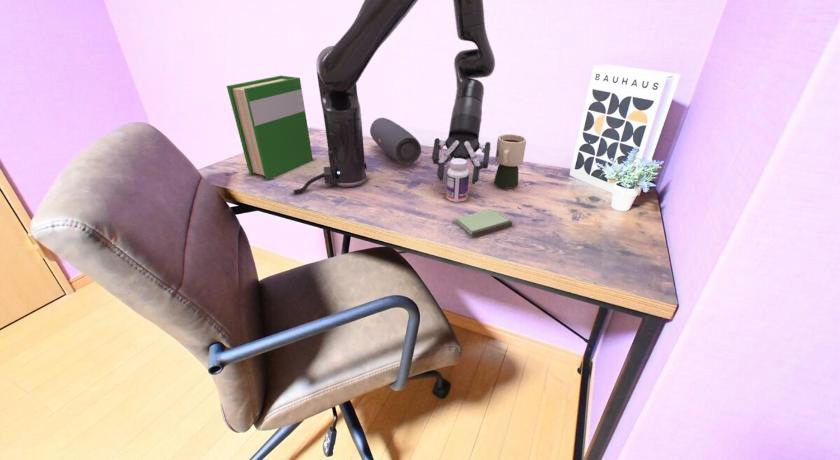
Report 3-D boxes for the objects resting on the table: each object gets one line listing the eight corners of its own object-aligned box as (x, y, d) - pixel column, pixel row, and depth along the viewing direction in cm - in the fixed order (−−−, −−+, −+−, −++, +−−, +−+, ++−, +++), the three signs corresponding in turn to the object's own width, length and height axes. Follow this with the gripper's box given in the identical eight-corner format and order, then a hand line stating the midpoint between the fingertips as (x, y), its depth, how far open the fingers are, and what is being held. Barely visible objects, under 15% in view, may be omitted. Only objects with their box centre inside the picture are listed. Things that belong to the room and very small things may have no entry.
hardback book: (267, 180, 102) (246, 89, 90) (249, 174, 105) (226, 85, 93) (312, 159, 115) (299, 77, 103) (295, 155, 118) (280, 75, 106)
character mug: (499, 175, 105) (504, 130, 98) (523, 180, 102) (531, 134, 95) (486, 190, 97) (491, 142, 90) (513, 196, 94) (520, 147, 87)
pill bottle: (467, 193, 96) (470, 157, 90) (467, 202, 91) (470, 165, 86) (446, 192, 96) (447, 156, 91) (445, 201, 91) (447, 164, 86)
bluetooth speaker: (369, 147, 125) (367, 117, 120) (394, 143, 128) (393, 114, 123) (393, 171, 108) (392, 137, 102) (422, 166, 111) (422, 133, 106)
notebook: (473, 237, 78) (474, 232, 77) (456, 222, 83) (456, 217, 82) (511, 226, 82) (512, 221, 81) (492, 212, 87) (493, 208, 86)
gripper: (436, 110, 91) (426, 173, 87) (495, 114, 88) (487, 178, 85) (439, 126, 98) (430, 184, 95) (494, 129, 95) (486, 189, 92)
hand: (457, 181), depth 90 cm, fingers open, 7 cm apart
